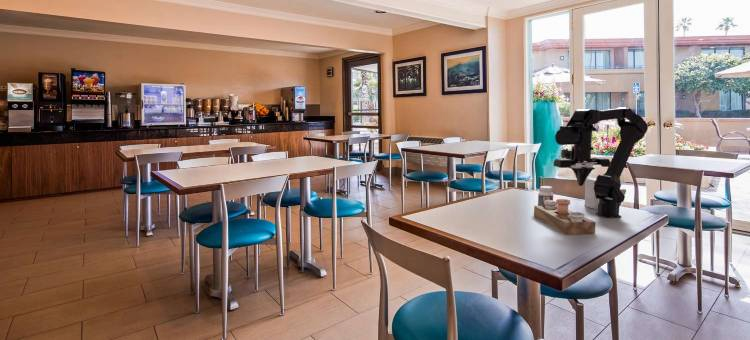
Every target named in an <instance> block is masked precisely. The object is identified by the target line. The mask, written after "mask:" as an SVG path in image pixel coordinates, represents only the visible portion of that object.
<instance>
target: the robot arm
mask: <svg viewBox="0 0 750 340" xmlns="http://www.w3.org/2000/svg"><path fill="white" fill-rule="evenodd" d="M610 120H616V121H617V122H616V124H617V126H618V127H619V128H620V129H619V136H620V140H619V143H618V145H617V147H616V150H615V152H614V154H613V157H612V158H611V160H610V159H609V158H606V157H592V151H594V147H593V146H592V141H593V132H598V129H597V128H596V127H595V125H596V124H598V123H599V122H602V121H610ZM648 128H649V126H648V123H647V122H646V120H644V119H643V117H642V116H640V115H639V114H637V113H636V112H634V110H632V108H629V107H617V108H610V109H609V108H608V109H602V110H601V109H591V108H590V109H588V108H587V109H583V108H582V109H576V110H574V112H573V114H572V115H571V117H570V119H569V121H568V122H567V123H566V125H560V126H559V129H558V130H557V131H556V133H555V135H554V139H555V142H556V144H558V145H559V146H565V145H566V146H567V145H573V146H571V150H569V149H567V148H565V149H561V152H560V157H561V158H555V159H554V161H553V167H555V168H561V169H571V170H572V172H573V173H574V175H575V178H576V181H577V184H578V186H579V187H580V186H581V187H582V186H583V185H585V180H586V179H587V178H588V177H589V176H590V174H591V172H592V171H593V170H596V168H595V167H594V166H597V165H599V166H601V167H602V168H603V167H604V168H605V167H606V168H607V169H606V171H605V173H603V174H598V175H597V177H596V178H595V179H596V181H595V183H594V184H595V185H594V188H593V189H594V192H595V196H596V198H597V199H599V203H598V209H597V212H595V214H596V215H598V216H600V217H603V218H609V219H610V218H622V215H620V205H621V204H620V203H623V202H624V201H625V198H626V196H625V194H624V193H623V191H621V186H622V184H621V176H622V173H623V171H624V170H625V166H626V164H627V162H628V160H629V158H630V157H631V156H630V155H631V153H632V151H633V149H634V147H635V145H636V143H638V142H639V141H641V140H642V139H643V138H644V137H645V135H646V133H647V132H648Z"/></svg>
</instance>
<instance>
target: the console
mask: <svg viewBox="0 0 750 340" xmlns="http://www.w3.org/2000/svg"><path fill="white" fill-rule="evenodd" d="M533 206H534V208H533V217H535V218H537V219H538V220H540V221H543V222H544V223H546V224H547V225H549V226H551V227H553V228H554V229H556V230H557V231H558V232H560V233H562V234H564V235H591V234H593V235H594V234H596V225H597V224H596V223H597V222H596V221H594V220H592V219H590V218H588V217H586V216H584V218H583V219H582V222H571V221H570V220H571V218H570V217H569V213H570V212H574V211H573V210H571V209H569V208H568V215H558V214H557V205H556V206H555V209H546V208H545V206H538V205H533Z"/></svg>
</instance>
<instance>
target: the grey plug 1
mask: <svg viewBox="0 0 750 340" xmlns="http://www.w3.org/2000/svg"><path fill="white" fill-rule="evenodd" d="M544 205H545V208H546V209H555V206H556V205H557V204H556V200H554V199H553V200H545V201H544Z"/></svg>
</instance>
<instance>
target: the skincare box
mask: <svg viewBox="0 0 750 340" xmlns="http://www.w3.org/2000/svg"><path fill="white" fill-rule="evenodd" d="M596 179H597V178H594V177H589V178H588V177H587V179H586V180H585V182H584V207H587V208H590V209H594V210H598V203H599V199H597V198H596V196H595V192H594V189H593V188H594V185H595V184H594V183H595V181H596Z"/></svg>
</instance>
